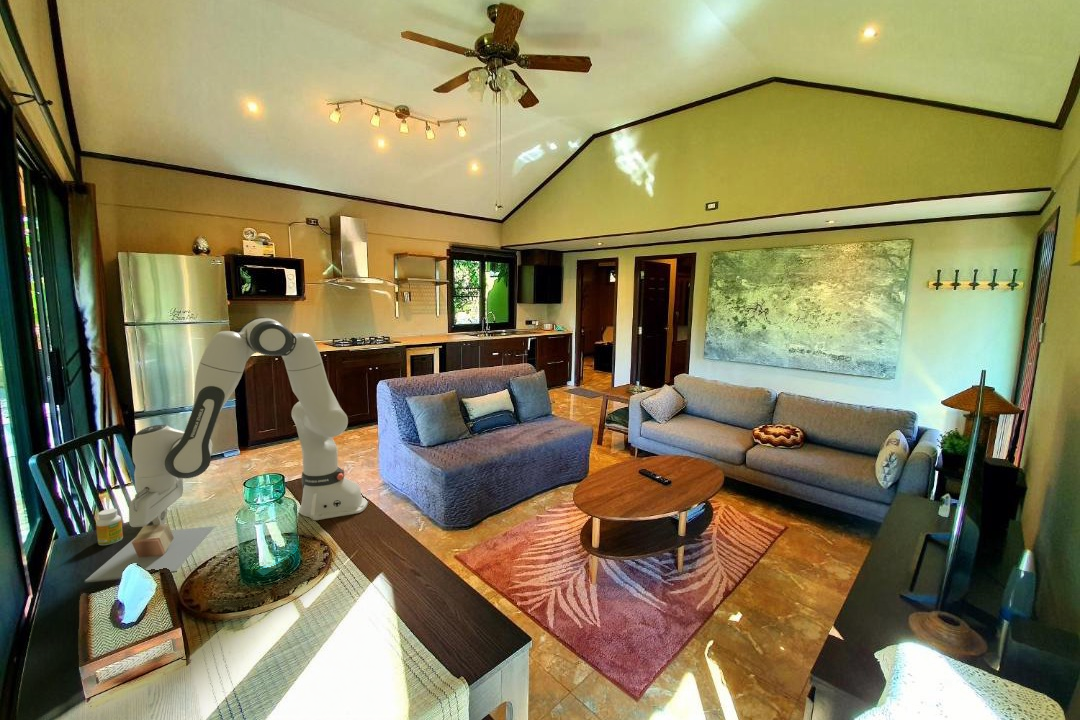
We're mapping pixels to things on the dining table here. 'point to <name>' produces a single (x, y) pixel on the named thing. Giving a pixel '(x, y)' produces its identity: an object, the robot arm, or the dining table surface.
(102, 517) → the supplement bottle
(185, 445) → the robot arm
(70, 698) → the dining table surface
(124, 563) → the slate mat
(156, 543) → the birch block
